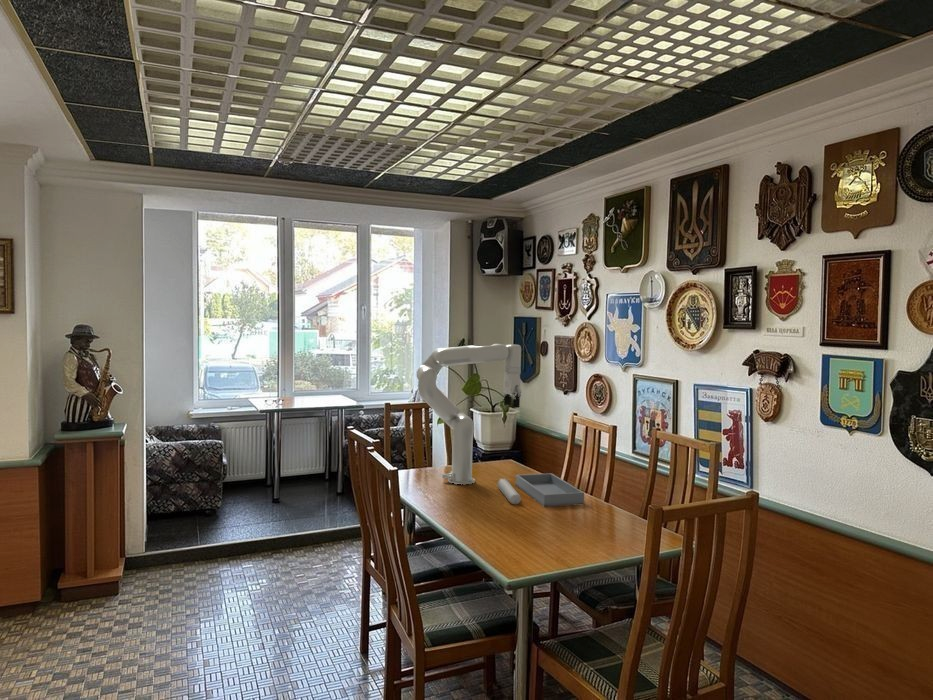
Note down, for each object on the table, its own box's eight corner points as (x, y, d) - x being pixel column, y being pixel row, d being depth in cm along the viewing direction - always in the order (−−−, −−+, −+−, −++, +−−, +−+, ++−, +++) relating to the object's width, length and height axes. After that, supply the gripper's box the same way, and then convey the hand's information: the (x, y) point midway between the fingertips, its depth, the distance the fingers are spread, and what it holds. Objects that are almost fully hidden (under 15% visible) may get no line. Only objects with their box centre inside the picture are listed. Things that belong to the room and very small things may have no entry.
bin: (544, 506, 256) (544, 494, 256) (515, 485, 289) (515, 474, 288) (583, 504, 261) (584, 492, 260) (551, 483, 293) (551, 473, 293)
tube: (524, 496, 258) (510, 480, 282) (512, 492, 257) (499, 476, 282) (519, 508, 258) (506, 491, 282) (508, 504, 257) (495, 487, 281)
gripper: (498, 369, 302) (497, 404, 303) (513, 371, 286) (512, 408, 287) (512, 368, 305) (511, 403, 306) (527, 371, 289) (526, 408, 290)
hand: (511, 406), depth 296 cm, fingers open, 9 cm apart
